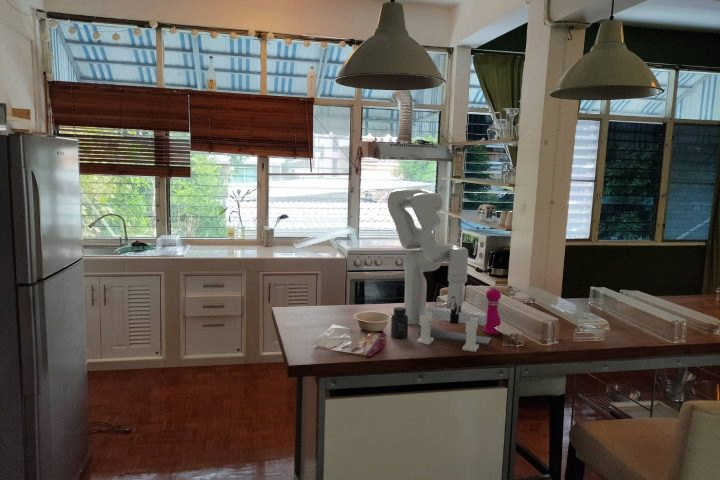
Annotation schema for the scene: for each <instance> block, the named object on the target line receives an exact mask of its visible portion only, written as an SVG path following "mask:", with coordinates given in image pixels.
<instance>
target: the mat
mask: <svg viewBox="0 0 720 480" xmlns="http://www.w3.org/2000/svg"><path fill="white" fill-rule="evenodd" d="M466 334H467V333H461V332H453V331H448V330H439V329H435V328H431V332H430V337H432V338H437V339H439V338H440V339H445V340H452V341H457V342H464V343H466ZM418 336H421V331H420V332H419V333H418ZM492 339H493V338H492V337H489V336H480V335H476V344H478V345H485V346H488V345H489V344H490V342H491V340H492Z"/></svg>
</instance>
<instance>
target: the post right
mask: <svg viewBox="0 0 720 480" xmlns="http://www.w3.org/2000/svg"><path fill="white" fill-rule="evenodd" d="M477 329H478V319H475V318H470V321H469V322H466V323H465V334H466V342H464V345H463V346H461V347H462V349H461V350H462V351H467V350H468V352H473V351H474V352H475V353H476V352H477V351H478V349H479V348H480V344H477V343H476V336H477Z"/></svg>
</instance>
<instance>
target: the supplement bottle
mask: <svg viewBox="0 0 720 480" xmlns="http://www.w3.org/2000/svg"><path fill="white" fill-rule="evenodd" d="M405 313H406V308H404V306H397V307H394V308H393V314H392V315H391V318H390V319H391V320H390V322H391V324H390V337H391V339H394V340H399V341H401V340H402V341H403V340H406V339H408V338H409V324H408V316H407V315H406V314H405Z"/></svg>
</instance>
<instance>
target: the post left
mask: <svg viewBox="0 0 720 480" xmlns="http://www.w3.org/2000/svg"><path fill="white" fill-rule="evenodd" d="M432 316H433V313H430V312H425V316H420V325H419V326H420V332H421V335H420V337H419V338H418V339H417V340H416V343H417V344H422V343H423V344H424V345H430V344H432V343H433V342H434V340H435V337H431V336H430V332H431V329H432V323H433V319H432Z"/></svg>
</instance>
